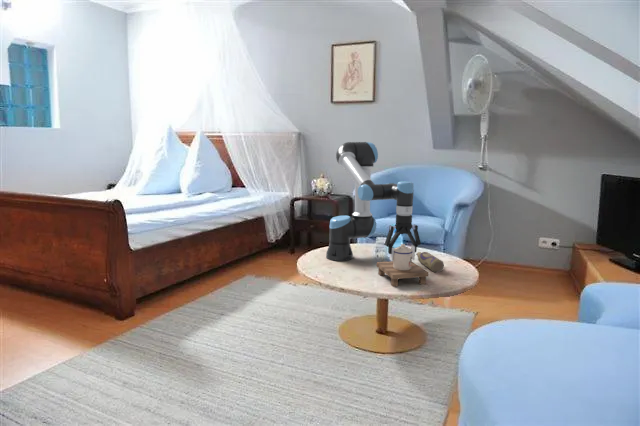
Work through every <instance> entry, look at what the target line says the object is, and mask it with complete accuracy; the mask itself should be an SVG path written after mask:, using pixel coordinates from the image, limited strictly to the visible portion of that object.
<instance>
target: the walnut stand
mask: <svg viewBox="0 0 640 426" xmlns="http://www.w3.org/2000/svg"><path fill="white" fill-rule="evenodd" d="M376 267H377V269H378V273H377V274H378V275H379V276H381V277H382V276H385V274H386V275H387V276H388V277H389V278H390V286H391V287H398V286H399V279H412V278H418V284H419V285H426V282H427V279H426V278H427V277H429V274H430V273H429V272H428V271H427V270H426V269H424V268H422V267H421V266H420V265H418V264H417V263H415V262H413V261H412V265H411V269H410V270H406V271H401V270H396V269H394V268H393V261H391V260H389V261H379V262H378V261H377V262H376Z"/></svg>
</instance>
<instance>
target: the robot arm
mask: <svg viewBox="0 0 640 426" xmlns="http://www.w3.org/2000/svg"><path fill="white" fill-rule="evenodd" d="M335 154H336V155H335V159H336V162H337V163H338V165H339V167H341V168H343V169H344V170H345V172H346V173H347V174H348V176H349V177H350V178H351V180H352V181H353V183H354V212H353V213H351V216H349V215H337V216H333V217H332V218H330V221H329V245H328V248H327V250H326V254H325V257H326V259H327V260H331V261H337V262H339V261H340V262H344V261H350V260H352V259H354V254H353V250H352V249H353V248H352V246H351V239H362V238H363V239H364V238H365V239H366V238H371V237H372V236H373V235H374V234H375V233H376V231H377V222H376V221H377V220H376V218H375V217H373V213H372V212H371V201H380V200H381V201H382V200H385V201H386V200H395V201H396V210H395V214H396V215H395V225H389V226H388V228H389V229H388V233H387V236H386V239H385V242H384V246H385V247H387V248H388V249H387V250H388V251H387V252H388V255H389V261H393V256H394V247H393V246H394V245H395V243H396V242H397V240H398V238H399V236H401V235H407V236H408V238H409V240H410V242H411V245H410V249H412V251H413V252H412V261H415V255H416V253H417V250H418V248H417V247H418V246H420V245H421V244H422V243H421V242H422V241H421V239H420V235H419V225H417V224H412V222H413V215H412V214H413V207H414V206H413V203H414V192H415V189H414V183H413V182H412V181H404V180H403V181H398V182H397V183H394V182H388V183H387V182H386V183H382V184H381V183H380V184H379V183H378V184H377V183H376V184H375V183H374V182H373V181H372V179H371V176H372V175H371V172H372V171H371V170H372V169H373V168H374V164H375V163H377V161H378V159H379V158H378V157H379V152H378V149H377V147H376V145H375V144H374V142H369V141H368V142H367V141H352V142H351V141H347V142H343V143H342V144H341V145H339V147H338V148H337V150H336V153H335ZM411 230H412V231H413V234H412V231H411ZM394 231H395V232H394ZM413 235H414V236H413Z"/></svg>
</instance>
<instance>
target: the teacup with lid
mask: <svg viewBox="0 0 640 426" xmlns="http://www.w3.org/2000/svg"><path fill="white" fill-rule="evenodd" d="M393 248H394V247H393ZM412 252H413V251H412V249H411V247H410V248H409V247H408V246H406V244H405V243H402V244H400V246H398V247H395V248H394V256H393V268H394V269H396V270H401V271H406V270H410V269H411V265H412V262H413V259H412Z"/></svg>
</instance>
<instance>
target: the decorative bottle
mask: <svg viewBox="0 0 640 426" xmlns="http://www.w3.org/2000/svg"><path fill="white" fill-rule="evenodd" d="M415 255H416V256H417V260H418V262H419V263H420V264H421V265H423V266H424V267H427V268H428V269H429V270H430V271H431V272H433V273H440V272H441V271H443V270H444V268H445V267H444V266H445V263H444V261H443V260H441V259H440V258H439V257H436V256H434V255H433V254H431V253H430V252H428V251H423V252H421V251H418V252H416V253H415Z"/></svg>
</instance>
